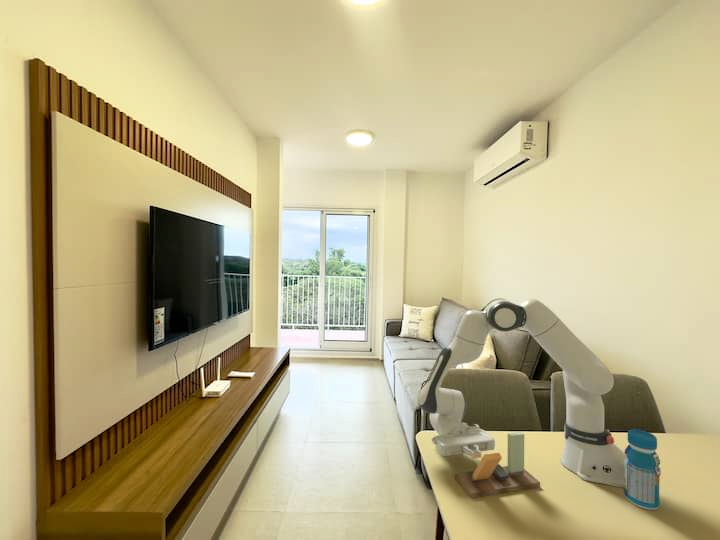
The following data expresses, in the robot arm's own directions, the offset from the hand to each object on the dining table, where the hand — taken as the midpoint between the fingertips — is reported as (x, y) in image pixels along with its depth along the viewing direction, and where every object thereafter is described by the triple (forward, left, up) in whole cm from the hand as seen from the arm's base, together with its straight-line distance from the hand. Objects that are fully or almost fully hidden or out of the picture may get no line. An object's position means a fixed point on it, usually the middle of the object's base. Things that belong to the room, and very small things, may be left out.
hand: (477, 455), depth 110 cm
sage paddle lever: (-10, -8, -6) cm, 15 cm away
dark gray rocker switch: (-6, -4, -7) cm, 10 cm away
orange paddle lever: (-1, +1, -6) cm, 6 cm away
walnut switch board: (-5, -3, -9) cm, 11 cm away
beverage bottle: (-43, -17, -9) cm, 47 cm away
